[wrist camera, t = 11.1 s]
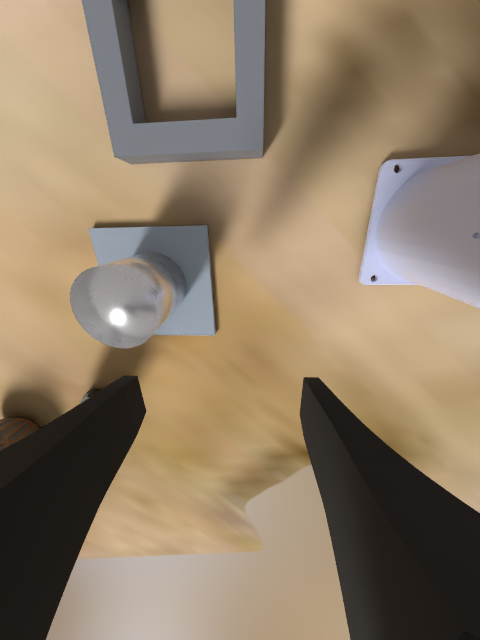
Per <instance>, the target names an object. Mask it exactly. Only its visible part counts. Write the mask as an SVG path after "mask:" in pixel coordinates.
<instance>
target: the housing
mask: <svg viewBox="0 0 480 640" xmlns="http://www.w3.org/2000/svg"><path fill="white" fill-rule="evenodd" d="M82 4H83V9H84V13H85V18H86V23H87V28H88V33H89V37H90V42H91V47H92V52H93V57H94V61H95V66H96V71H97V76H98V81H99V85H100V90H101V95H102V100H103V105H104V109H105V114H106V119H107V124H108V129H109V133H110V138H111V143H112V148H113V153H114V157H116V158H119V159H121V160H123V161H125V162H128V163H130V164H143V163H165V162H186V161H207V160H229V159H250V158H262V156H263V128H264V54H265V0H234V32H235V73H236V114H237V118H221V119H205V120H188V121H171V122H155V123H146V119H145V113H144V106H143V100H142V93H141V87H140V80H139V74H138V67H137V61H136V54H135V48H134V41H133V35H132V28H131V22H130V15H129V9H128V2H127V0H82Z"/></svg>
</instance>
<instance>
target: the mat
mask: <svg viewBox="0 0 480 640" xmlns="http://www.w3.org/2000/svg"><path fill="white" fill-rule="evenodd" d="M88 229H89V233H90V236H91V240H92V244H93V247H94V251H95V254H96V258H97V262H98V265H99V266H100V265H104V264H107V263H111V262H114V261H117V260H121V259H124V258H128V257H131V256H135V255H138V254H142V253H146V252H157V253H161V254H164V255H166V256H168V257H169V258H171V259H172V260H173V261H174V262H176V263H177V265H178V266H179V267H180V268H181V270H182V272H183V274H184V276H185V280H186V294H185V297H184V299H183V301H182V303H181V304H180V305H179V306H178V307H177V308H176V309H175V310H174V312H173V313H172V314H171V315H170V316H169V317H168V318H167V319H166V320H165V321H164V323H163V324H162V325H161V326H160V327H159V328H158V329H157V330H156V331H155V333H154V334H153V335H215V334H216V327H215V314H214V301H213V288H212V276H211V263H210V250H209V237H208V225H197V226H159V227H121V228H88Z"/></svg>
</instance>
